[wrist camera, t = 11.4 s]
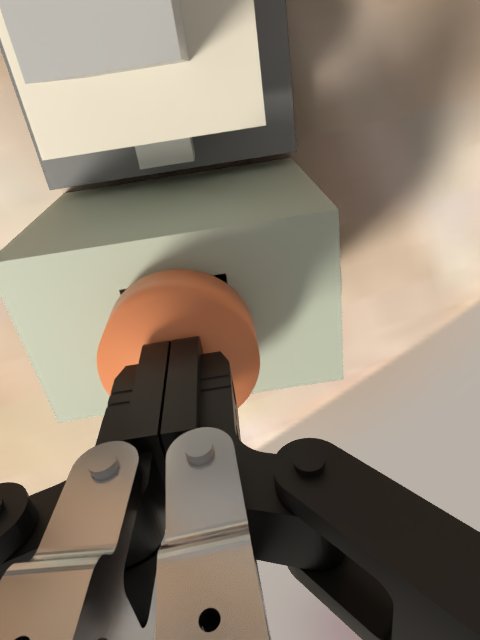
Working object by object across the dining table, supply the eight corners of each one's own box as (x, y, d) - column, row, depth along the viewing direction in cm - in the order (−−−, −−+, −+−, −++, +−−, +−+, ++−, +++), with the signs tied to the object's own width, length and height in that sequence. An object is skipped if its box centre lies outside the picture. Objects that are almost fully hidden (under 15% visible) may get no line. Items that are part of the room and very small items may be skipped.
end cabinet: (300, 156, 19) (353, 206, 12) (308, 281, 22) (354, 377, 15) (64, 193, 20) (-14, 263, 13) (103, 312, 22) (58, 422, 16)
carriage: (226, -141, 13) (253, -394, 6) (255, 114, 17) (293, 152, 9) (-4, -103, 13) (-260, -308, 6) (71, 143, 17) (-33, 203, 10)
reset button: (234, 208, 17) (249, 281, 11) (249, 310, 19) (268, 415, 13) (118, 226, 17) (74, 309, 11) (146, 325, 19) (121, 437, 13)
